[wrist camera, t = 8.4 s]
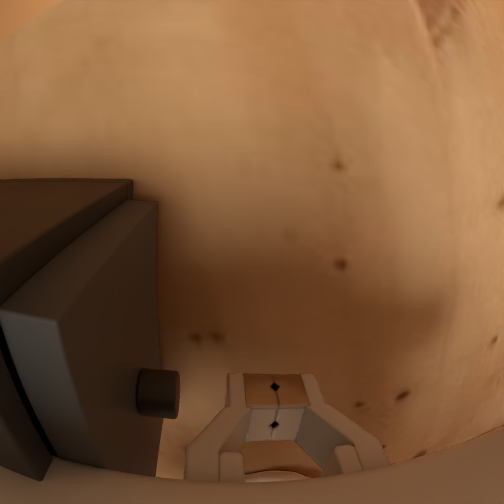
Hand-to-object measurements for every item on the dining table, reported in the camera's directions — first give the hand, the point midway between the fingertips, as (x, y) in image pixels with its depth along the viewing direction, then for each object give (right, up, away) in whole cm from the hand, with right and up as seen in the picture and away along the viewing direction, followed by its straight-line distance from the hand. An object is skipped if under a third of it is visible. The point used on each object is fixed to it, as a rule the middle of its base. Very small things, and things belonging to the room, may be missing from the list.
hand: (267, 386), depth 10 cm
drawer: (-11, +2, +2) cm, 11 cm away
